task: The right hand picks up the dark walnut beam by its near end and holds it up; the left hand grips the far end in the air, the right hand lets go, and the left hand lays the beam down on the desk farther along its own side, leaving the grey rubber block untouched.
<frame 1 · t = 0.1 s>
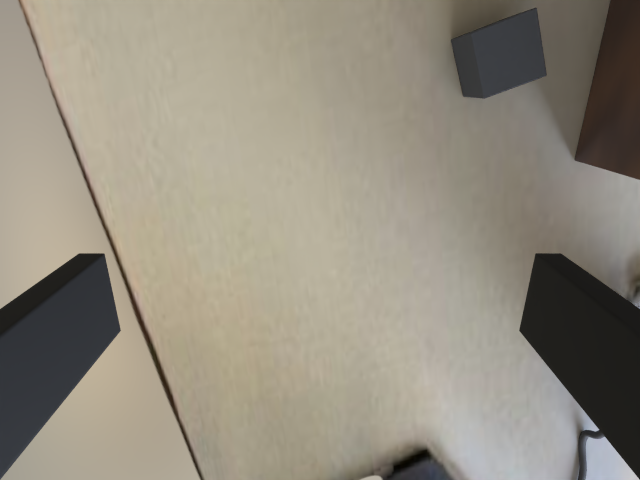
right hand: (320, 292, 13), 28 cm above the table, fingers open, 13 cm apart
beam: (629, 20, 35), on the table
grey block: (484, 58, 36), on the table
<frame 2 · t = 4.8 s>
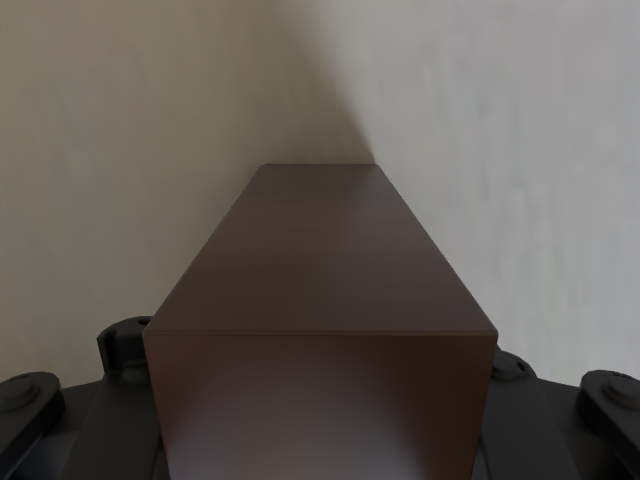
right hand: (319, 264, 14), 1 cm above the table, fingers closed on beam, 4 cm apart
beam: (320, 430, 18), on the table, touching right hand
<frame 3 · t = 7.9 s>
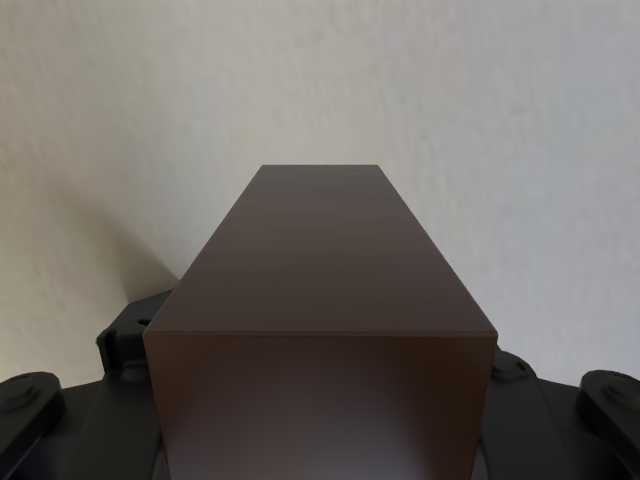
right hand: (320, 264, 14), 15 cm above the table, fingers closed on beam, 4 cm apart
beam: (320, 430, 18), point 14 cm above the table, touching right hand
grey block: (170, 320, 32), on the table
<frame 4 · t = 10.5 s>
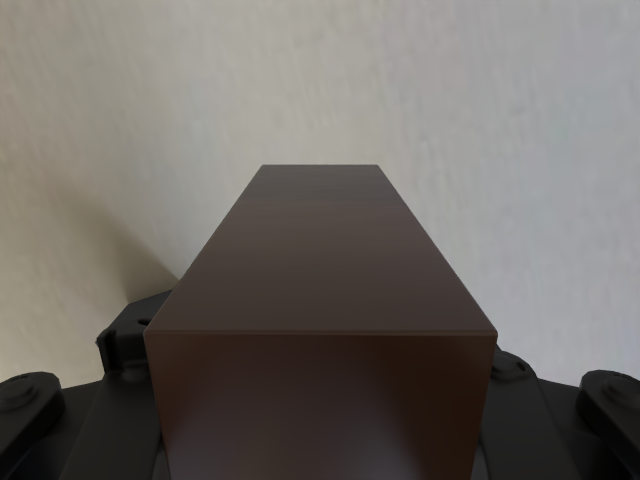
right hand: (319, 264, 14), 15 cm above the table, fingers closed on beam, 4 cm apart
beam: (319, 430, 18), point 14 cm above the table, touching right hand, left hand
grey block: (170, 320, 32), on the table
when the right hand's fingers open (15 cm above the table, at t = 11.2 s): beam stays where it is, held by the left hand.
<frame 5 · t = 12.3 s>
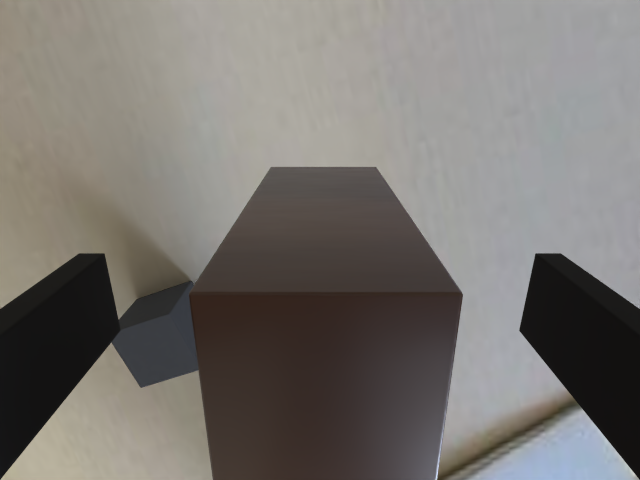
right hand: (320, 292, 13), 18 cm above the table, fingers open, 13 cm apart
beam: (323, 415, 19), point 14 cm above the table, touching left hand
grey block: (178, 315, 33), on the table
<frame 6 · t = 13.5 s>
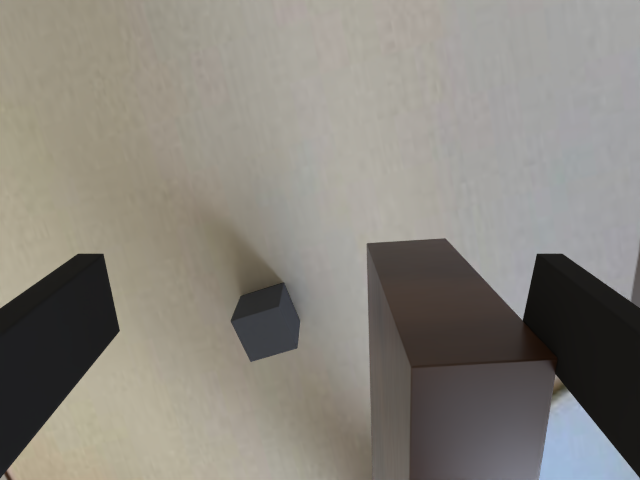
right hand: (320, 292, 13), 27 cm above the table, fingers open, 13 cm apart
beam: (404, 427, 24), point 19 cm above the table, touching right hand, left hand
grey block: (270, 308, 44), on the table
when the left hand's fingers open (7 cm above the table, at t = 19.4 s): beam stays where it is, on the table.
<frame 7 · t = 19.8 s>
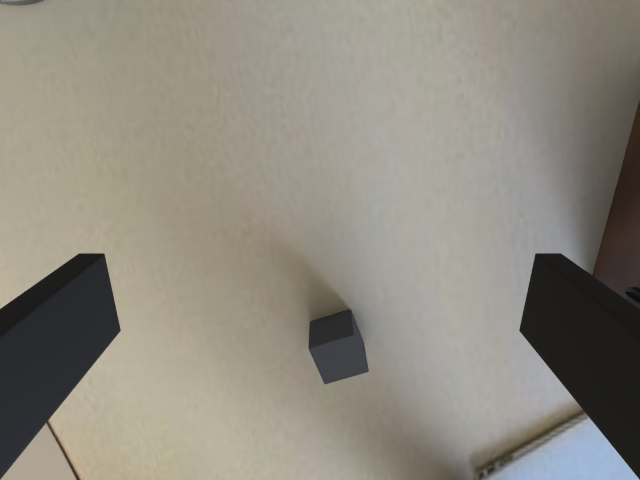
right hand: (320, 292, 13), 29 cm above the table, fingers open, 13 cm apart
beam: (636, 186, 41), on the table
grey block: (337, 332, 47), on the table
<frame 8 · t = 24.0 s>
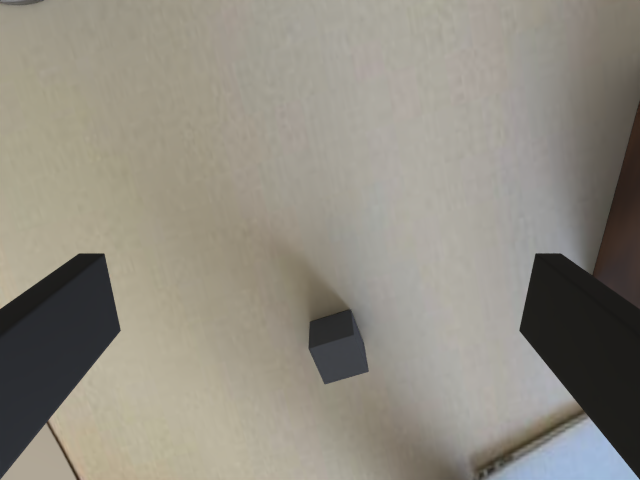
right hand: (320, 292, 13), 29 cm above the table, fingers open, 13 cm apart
beam: (636, 186, 41), on the table
grey block: (337, 332, 47), on the table
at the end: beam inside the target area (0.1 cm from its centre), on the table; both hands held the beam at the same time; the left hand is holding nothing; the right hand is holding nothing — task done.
